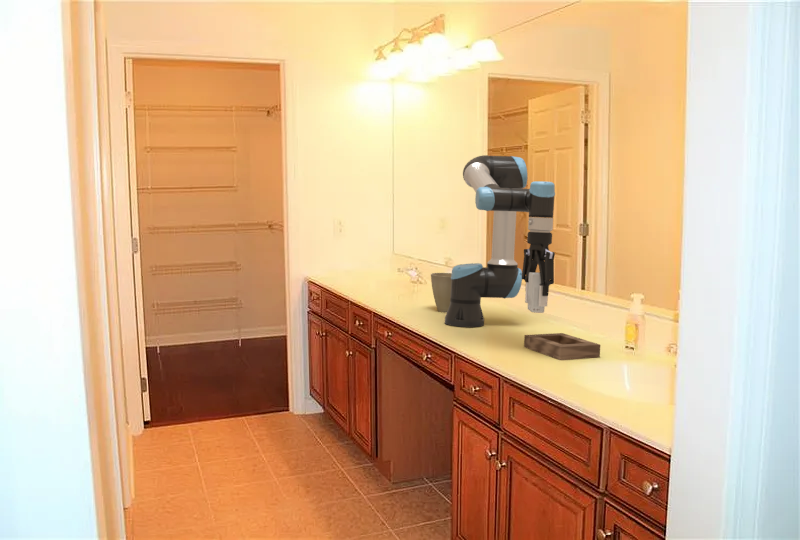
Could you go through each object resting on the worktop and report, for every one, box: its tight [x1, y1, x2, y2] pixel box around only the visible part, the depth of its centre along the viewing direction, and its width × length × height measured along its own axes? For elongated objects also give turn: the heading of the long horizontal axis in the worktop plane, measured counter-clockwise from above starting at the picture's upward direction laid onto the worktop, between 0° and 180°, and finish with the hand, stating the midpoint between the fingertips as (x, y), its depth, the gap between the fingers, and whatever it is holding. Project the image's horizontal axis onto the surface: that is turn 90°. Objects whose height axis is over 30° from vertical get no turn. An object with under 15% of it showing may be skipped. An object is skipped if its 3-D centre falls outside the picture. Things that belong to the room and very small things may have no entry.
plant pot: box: [430, 272, 452, 313], centre depth 285 cm, size 15×15×16 cm
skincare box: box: [527, 271, 546, 314], centre depth 207 cm, size 6×4×12 cm
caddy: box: [523, 332, 601, 361], centre depth 210 cm, size 19×15×4 cm
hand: (535, 304), depth 208 cm, fingers closed on skincare box, 7 cm apart
